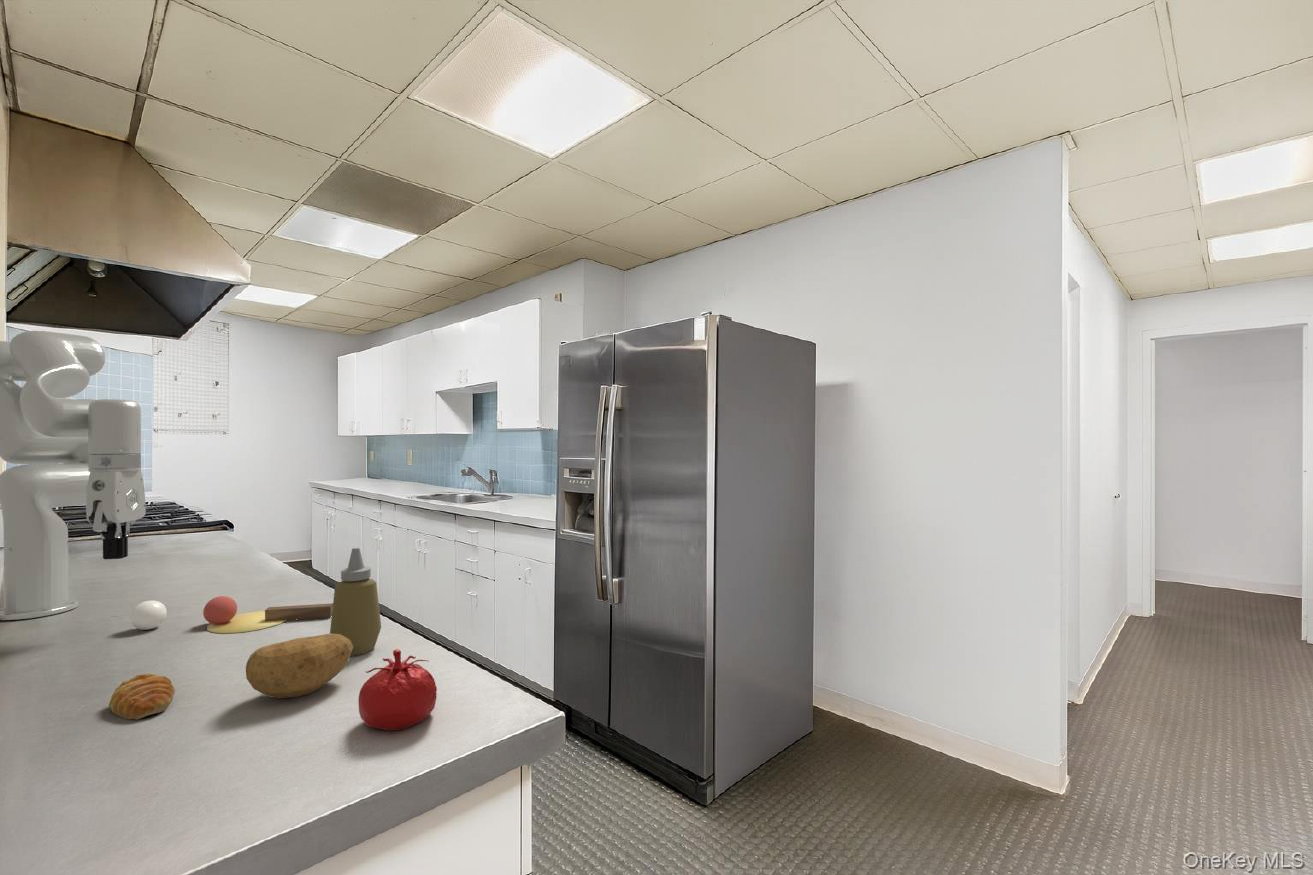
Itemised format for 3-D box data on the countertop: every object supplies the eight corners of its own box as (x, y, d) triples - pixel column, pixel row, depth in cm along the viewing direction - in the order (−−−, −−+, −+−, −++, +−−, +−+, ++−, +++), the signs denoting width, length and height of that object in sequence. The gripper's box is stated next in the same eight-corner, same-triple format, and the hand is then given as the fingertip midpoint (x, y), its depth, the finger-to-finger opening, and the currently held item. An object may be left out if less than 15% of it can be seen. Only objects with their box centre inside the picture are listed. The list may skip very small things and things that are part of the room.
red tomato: (387, 747, 72) (387, 671, 72) (341, 726, 77) (341, 654, 77) (454, 715, 80) (454, 646, 80) (408, 697, 86) (408, 633, 86)
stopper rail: (330, 617, 123) (330, 605, 123) (265, 622, 120) (264, 609, 120) (333, 615, 125) (333, 603, 125) (268, 619, 122) (268, 607, 122)
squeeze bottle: (318, 655, 102) (318, 550, 102) (358, 640, 109) (358, 543, 109) (353, 662, 99) (353, 554, 99) (391, 646, 106) (391, 546, 106)
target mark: (193, 625, 118) (193, 624, 118) (269, 608, 130) (269, 607, 130) (227, 638, 110) (227, 637, 110) (304, 618, 122) (304, 617, 122)
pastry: (184, 710, 82) (183, 682, 82) (119, 729, 77) (118, 700, 77) (167, 691, 88) (166, 666, 88) (105, 708, 83) (105, 681, 83)
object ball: (226, 586, 119) (247, 606, 120) (219, 595, 122) (239, 614, 123) (200, 605, 115) (221, 625, 115) (193, 614, 118) (214, 633, 119)
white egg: (165, 595, 116) (175, 621, 117) (156, 595, 119) (165, 621, 120) (130, 608, 112) (140, 635, 112) (121, 608, 115) (131, 634, 115)
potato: (364, 686, 89) (364, 633, 89) (256, 719, 79) (256, 659, 79) (339, 669, 96) (339, 619, 96) (235, 698, 85) (235, 642, 85)
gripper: (113, 465, 108) (113, 565, 108) (160, 461, 123) (160, 550, 123) (63, 465, 106) (63, 567, 106) (117, 461, 121) (117, 551, 121)
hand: (115, 557), depth 115 cm, fingers closed
